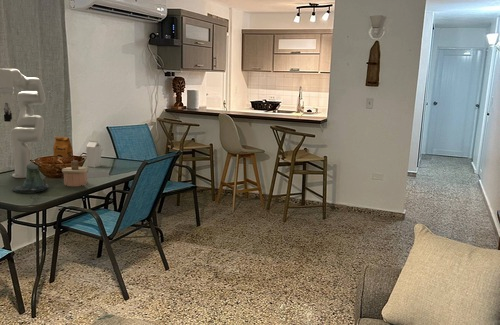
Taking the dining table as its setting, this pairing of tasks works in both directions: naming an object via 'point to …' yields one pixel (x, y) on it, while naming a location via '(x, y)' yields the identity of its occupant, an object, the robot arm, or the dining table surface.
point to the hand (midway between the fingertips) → (8, 120)
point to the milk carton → (93, 154)
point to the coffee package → (62, 147)
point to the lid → (74, 168)
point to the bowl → (75, 179)
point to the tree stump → (32, 181)
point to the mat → (97, 174)
